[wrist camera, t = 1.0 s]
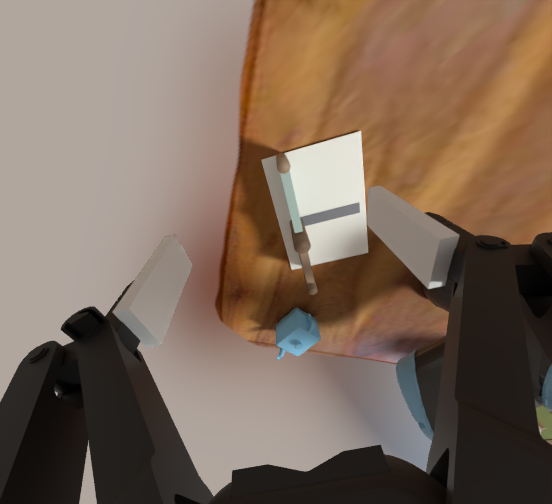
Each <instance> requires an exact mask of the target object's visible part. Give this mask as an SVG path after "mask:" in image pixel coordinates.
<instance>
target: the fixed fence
mask: <svg viewBox="0 0 552 504" xmlns="http://www.w3.org/2000/svg"><path fill="white" fill-rule="evenodd" d="M300 220H301V224H302V229H303V231H302V232H298V233H295V232H294V228H293V224H292V220H290V229H291V234H292V240H293V245H294V250H295V251H296V252H297V253H300V256H301V261H302V268H303V272H304V277H305V281H306V286H307V291H308V293H309V294H310V295H314V294H316V293H317V292H318V290H317V286H316V283H315V279H314V275H313V272H312V268H311V265H310V260H309V256H308V251H309V250H310V248H311V244H310V241H309V238H308V235H307V232H306V229H305V226H304V223H303V220H302V219H301V218H300Z"/></svg>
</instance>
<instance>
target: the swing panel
mask: <svg viewBox="0 0 552 504" xmlns="http://www.w3.org/2000/svg"><path fill="white" fill-rule="evenodd" d="M276 164H277V169H278V171H279V172H280V175H281V179H282V183H283V187H284V191H285V195H286V199H287V203H288V207H289V211H290V216H291V220H292V224H293V228H294V232H295V233H298V232H302V231H303V229H302V224H301V220H300V215H299V211H298V206H297V202H296V197H295V193H294V188H293V184H292V179H291V175H290V163H289V161H288V159H287V157H286V155H285V154H284V153H282V152H280V153H278V154H277V156H276Z"/></svg>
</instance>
